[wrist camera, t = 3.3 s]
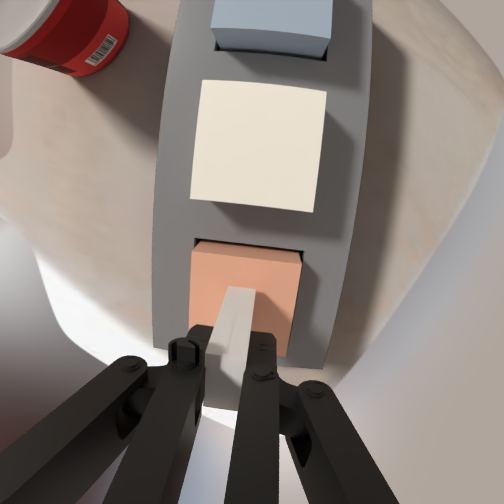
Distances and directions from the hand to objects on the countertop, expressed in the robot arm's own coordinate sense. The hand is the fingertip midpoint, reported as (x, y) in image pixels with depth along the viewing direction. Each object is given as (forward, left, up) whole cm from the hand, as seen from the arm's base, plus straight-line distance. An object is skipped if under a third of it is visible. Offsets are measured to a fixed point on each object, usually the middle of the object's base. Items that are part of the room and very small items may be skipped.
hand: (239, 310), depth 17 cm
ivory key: (-9, 0, -4) cm, 10 cm away
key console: (-9, 0, -8) cm, 12 cm away
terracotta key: (0, 0, -6) cm, 6 cm away
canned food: (-19, -16, -9) cm, 26 cm away
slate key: (-18, 0, -4) cm, 18 cm away
